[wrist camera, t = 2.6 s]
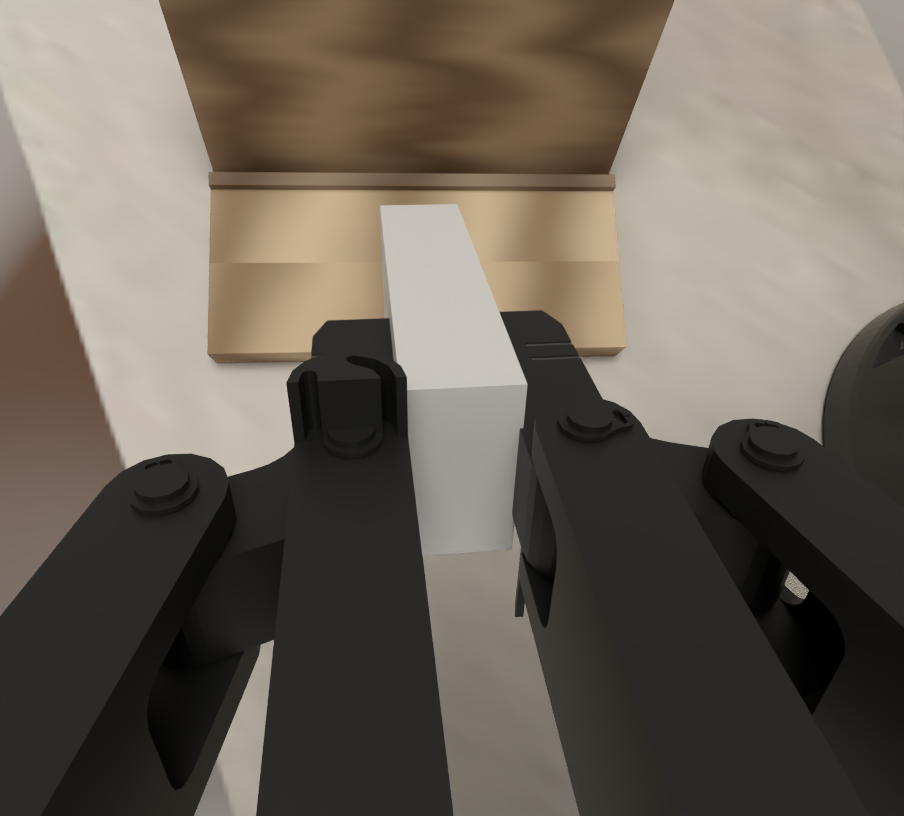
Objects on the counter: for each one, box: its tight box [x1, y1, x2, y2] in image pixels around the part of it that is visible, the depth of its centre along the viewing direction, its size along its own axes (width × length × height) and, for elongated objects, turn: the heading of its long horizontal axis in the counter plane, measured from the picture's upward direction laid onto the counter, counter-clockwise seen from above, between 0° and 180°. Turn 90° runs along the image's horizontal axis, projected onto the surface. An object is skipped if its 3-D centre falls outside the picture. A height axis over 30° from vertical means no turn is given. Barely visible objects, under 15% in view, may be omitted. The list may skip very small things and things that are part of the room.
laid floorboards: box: [208, 172, 626, 363], centre depth 31 cm, size 18×8×2 cm, turn 92°
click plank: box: [159, 0, 674, 175], centre depth 27 cm, size 18×2×13 cm, turn 92°
